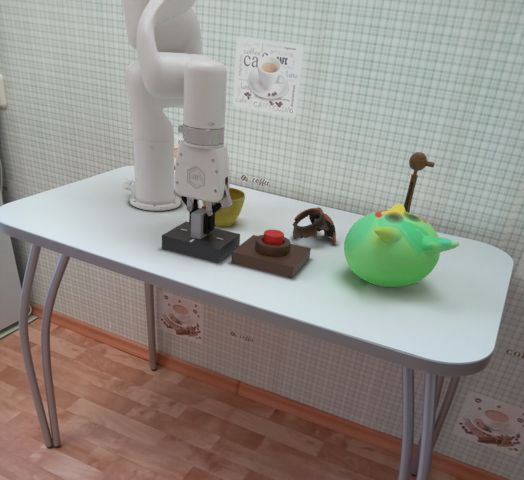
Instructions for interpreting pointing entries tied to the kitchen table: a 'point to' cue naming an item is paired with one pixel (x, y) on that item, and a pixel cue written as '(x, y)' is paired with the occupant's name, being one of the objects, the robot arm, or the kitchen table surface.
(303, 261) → the button block
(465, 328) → the kitchen table surface
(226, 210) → the flower pot
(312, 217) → the brown openwork arch
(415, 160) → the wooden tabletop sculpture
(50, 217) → the kitchen table surface
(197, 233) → the grey upright block
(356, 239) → the toy bird
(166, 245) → the panel
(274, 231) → the power button
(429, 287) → the kitchen table surface
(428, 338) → the kitchen table surface
